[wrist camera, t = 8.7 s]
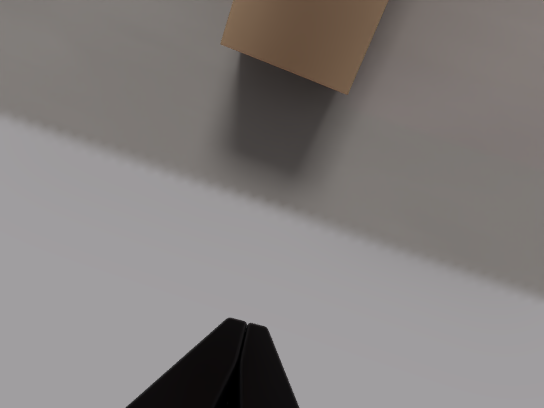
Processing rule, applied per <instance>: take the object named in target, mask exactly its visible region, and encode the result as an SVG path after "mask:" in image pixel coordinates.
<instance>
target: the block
mask: <svg viewBox="0 0 544 408" xmlns="http://www.w3.org/2000/svg"><path fill="white" fill-rule="evenodd" d="M387 3H388V0H233V4H232V7H231V10H230V14H229V17H228V20H227V24H226V27H225V30H224V34H223V37H222V40H221V45H224V46H226V47H229V48H231V49H234V50H236V51H239V52H241V53H244V54H246V55H249V56H251V57H254V58H256V59H259V60H261V61H264V62H266V63H269V64H271V65H274V66H276V67H279V68H281V69H284V70H286V71H289V72H291V73H294V74H296V75H299V76H301V77H304V78H306V79H309V80H311V81H314V82H316V83H319V84H321V85H324V86H326V87H329V88H331V89H334V90H336V91H339V92H341V93H344V94H346V95H348V93H349V91H350V88H351V86H352V84H353V81H354V79H355V77H356V74H357V72H358V70H359V67H360V65H361V63H362V60H363V58H364V56H365V54H366V51H367V49H368V47H369V44H370V42H371V40H372V37H373V35H374V33H375V30H376V28H377V26H378V23H379V21H380V19H381V17H382V14H383V12H384V10H385V7H386V5H387Z"/></svg>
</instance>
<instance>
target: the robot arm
mask: <svg viewBox="0 0 544 408" xmlns="http://www.w3.org/2000/svg"><path fill="white" fill-rule="evenodd" d="M126 408H299V406H298V404H297V401H296V398H295V396H294V393H293V391H292V388H291V386H290V383H289V381H288V378H287V376H286V373H285V371H284V368H283V366H282V363H281V361H280V358H279V356H278V353H277V351H276V348H275V346H274V343H273V341H272V338H271V336H270V333H269V331H268V329H267V328H266V327H265V326H261V325H257V324H253V323H249V324H248V325H247V324H246V322H245V321H242V320H238V319H234V318H227V319H226V320H225V321H223V322H222V323H221V324H220V325H219V326H218V327H217V328H215V329H214V330H213V331H212V332H211V333H210V334H209V335H208V336H206V337H205V338H204V339H203V340H202V341H201V342H200V343H198V344H197V345H196V346H195V347H194V348H193V349H192V350H190V351H189V352H188V353H187V354H186V355H185V356H184V357H183V358H181V359H180V360H179V361H178V362H177V363H176V364H175V365H173V366H172V367H171V368H170V369H169V370H168V371H167V372H165V373H164V374H163V375H162V376H161V377H160V378H159V379H158V380H156V381H155V382H154V383H153V384H152V385H151V386H150V387H148V388H147V389H146V390H145V391H144V392H143V393H142V394H141V395H139V396H138V397H137V398H136V399H135V400H134V401H133V402H132V403H131V404H129V405H128V406H127V407H126Z"/></svg>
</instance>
